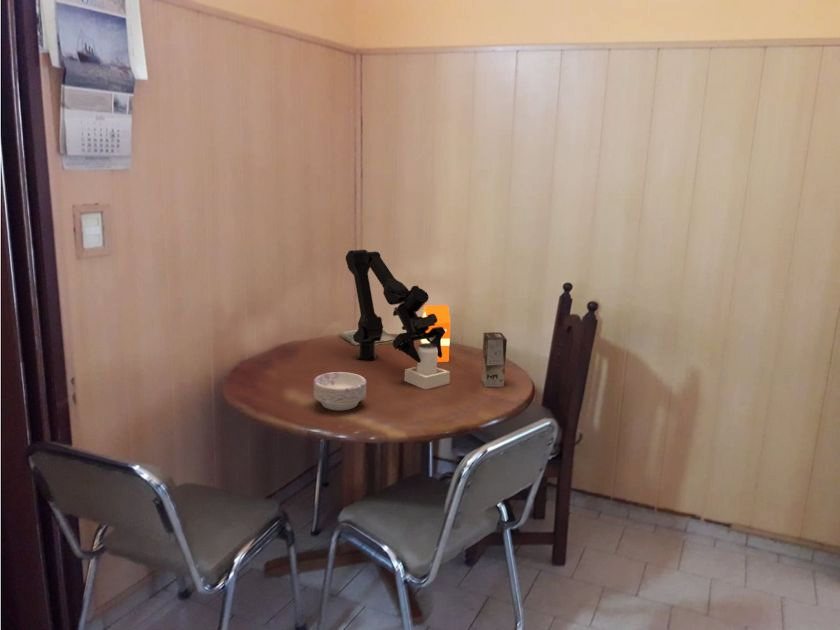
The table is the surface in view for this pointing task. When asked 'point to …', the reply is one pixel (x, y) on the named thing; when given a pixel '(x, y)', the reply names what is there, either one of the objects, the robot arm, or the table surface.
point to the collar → (427, 378)
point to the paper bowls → (339, 390)
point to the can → (427, 359)
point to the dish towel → (385, 339)
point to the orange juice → (443, 321)
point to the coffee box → (493, 359)
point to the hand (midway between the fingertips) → (430, 359)
